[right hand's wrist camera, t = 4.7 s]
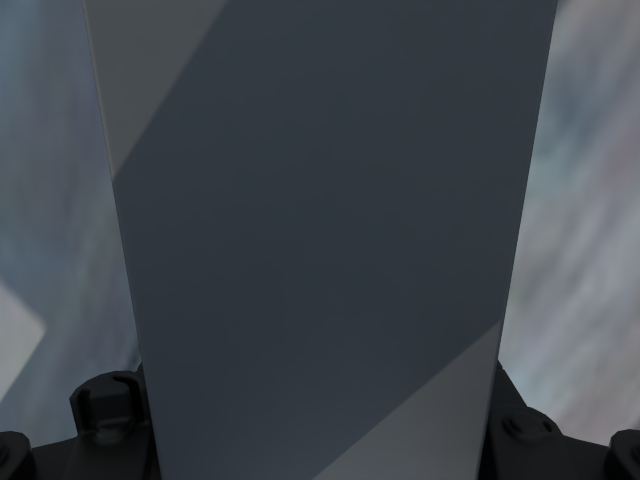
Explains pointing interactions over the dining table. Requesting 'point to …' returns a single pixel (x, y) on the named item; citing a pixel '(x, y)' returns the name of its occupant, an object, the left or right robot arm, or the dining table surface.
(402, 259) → the bar
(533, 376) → the dining table surface
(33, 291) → the dining table surface
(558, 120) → the dining table surface
